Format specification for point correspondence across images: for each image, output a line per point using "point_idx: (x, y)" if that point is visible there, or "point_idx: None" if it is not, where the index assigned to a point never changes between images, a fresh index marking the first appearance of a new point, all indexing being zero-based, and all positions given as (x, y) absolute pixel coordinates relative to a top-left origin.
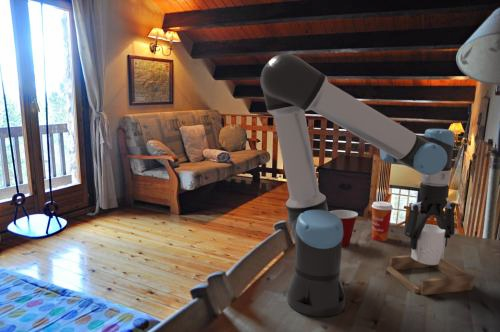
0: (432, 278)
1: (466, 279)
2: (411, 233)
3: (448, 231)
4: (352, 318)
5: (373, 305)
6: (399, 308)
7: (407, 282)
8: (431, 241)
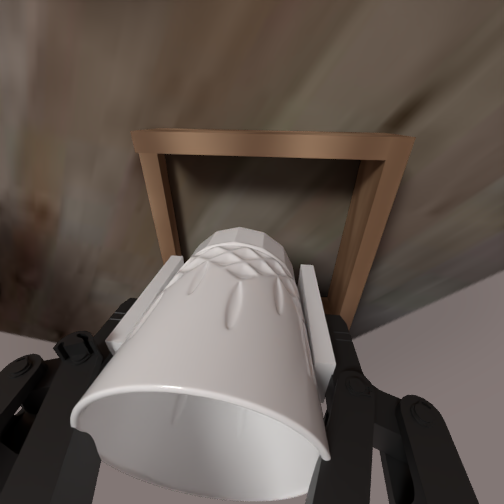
0: None
1: None
2: (29, 426)
3: (376, 446)
4: (20, 320)
5: (63, 300)
6: None
7: (165, 262)
8: (184, 413)
